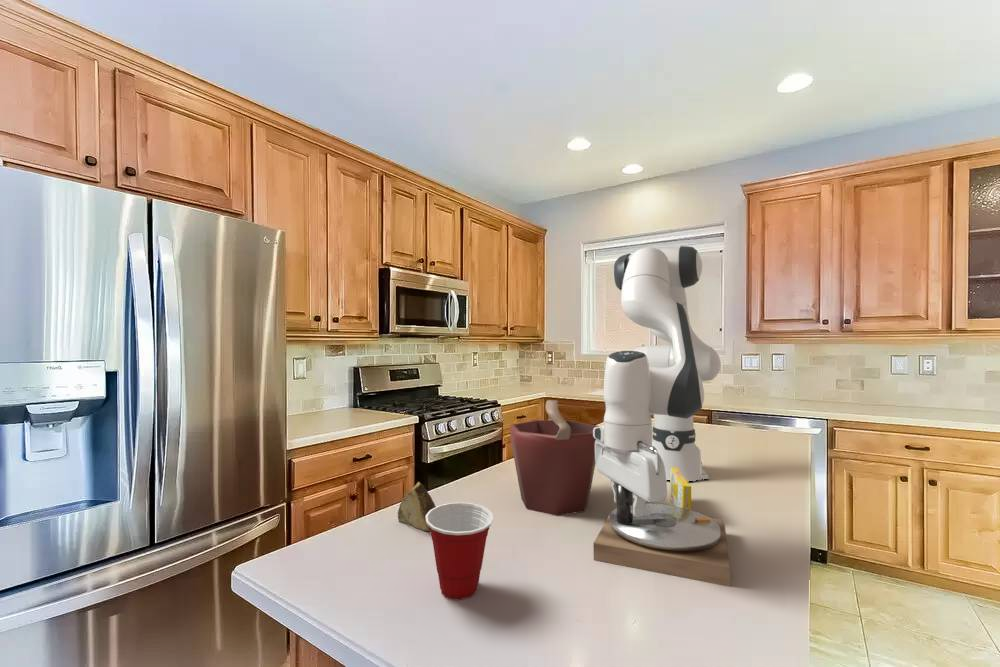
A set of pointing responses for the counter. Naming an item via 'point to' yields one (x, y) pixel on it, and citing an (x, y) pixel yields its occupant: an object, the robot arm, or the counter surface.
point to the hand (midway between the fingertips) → (628, 509)
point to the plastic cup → (459, 545)
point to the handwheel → (663, 525)
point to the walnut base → (666, 556)
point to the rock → (416, 507)
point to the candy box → (679, 490)
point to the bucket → (554, 462)
